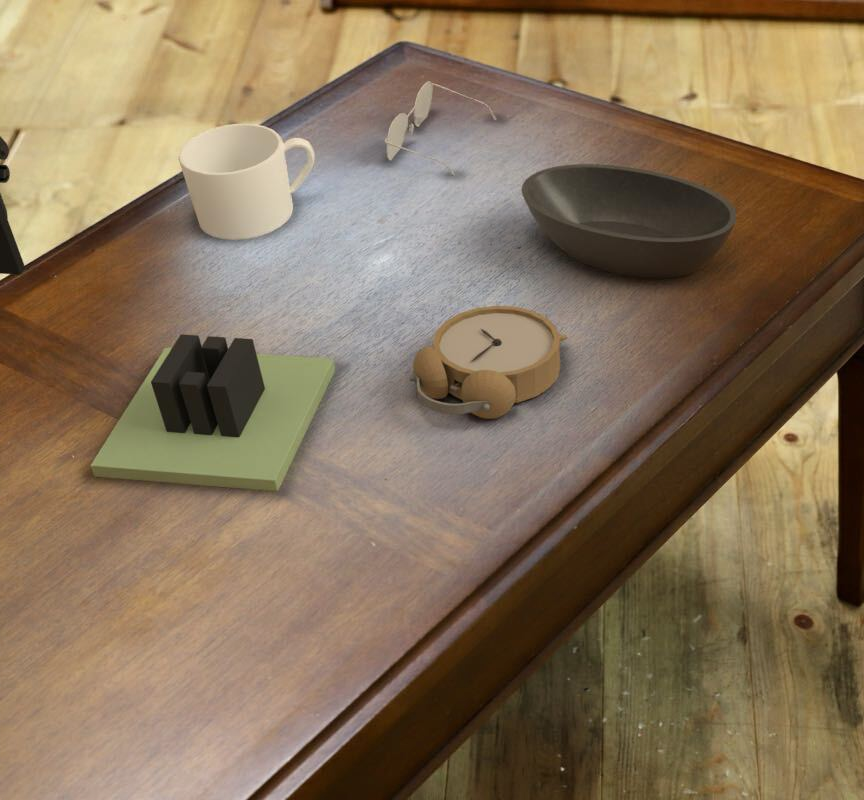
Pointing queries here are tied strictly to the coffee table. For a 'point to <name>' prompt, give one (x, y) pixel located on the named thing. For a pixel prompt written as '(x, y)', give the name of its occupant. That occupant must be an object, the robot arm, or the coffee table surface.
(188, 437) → the sage mat
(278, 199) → the mug
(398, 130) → the sunglasses
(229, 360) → the black slotted block
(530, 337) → the alarm clock
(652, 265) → the bowl
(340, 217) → the coffee table surface
